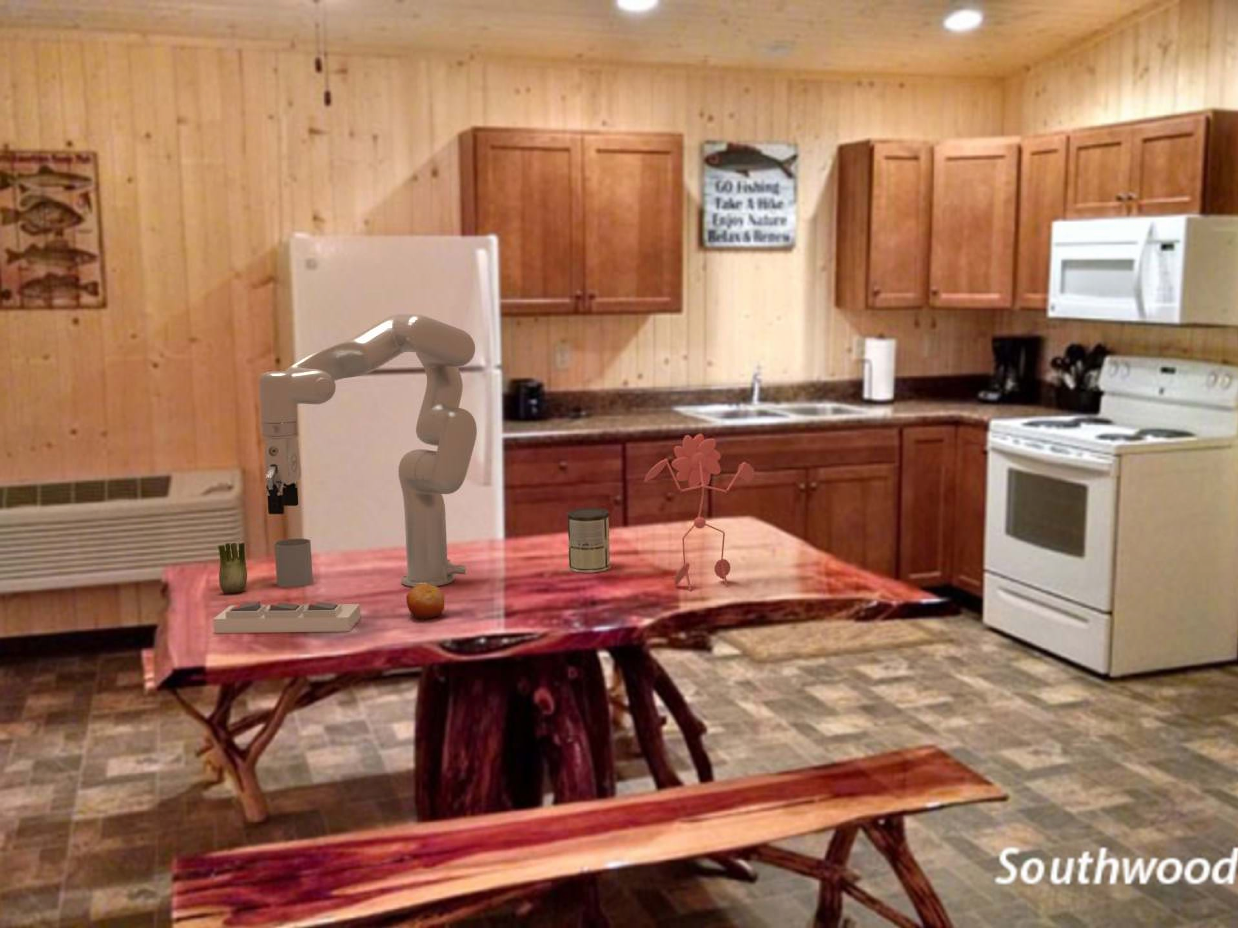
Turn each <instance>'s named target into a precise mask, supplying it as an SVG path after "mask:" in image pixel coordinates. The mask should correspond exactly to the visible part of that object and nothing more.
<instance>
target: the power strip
mask: <svg viewBox="0 0 1238 928" xmlns="http://www.w3.org/2000/svg"><path fill="white" fill-rule="evenodd" d="M336 604H337V606H336V608H335V609H334V610H308V607H309V604H300V603H299V604H298V605H299V606H298V608H297V609H296V610H292V611H270V605H271V604H270V605H269V604H260V606H261V607H260V608H259V609H258V610H257V611H231V610H232V609H233V608H234V607H235V606H237V604H234V605H228V606H227V607H226V609H224V610H222V611H221V612H220V613H219V614H218V615H216V616H215V617H214V618H213V632H214V634H240V633H243V634H245V633H247V634H248V633H251V634H253V633H255V634H256V633H318V632H319V633H321V632H322V633H324V632H326V633H327V632H328V633H332V632H333V633H334V632H336V633H337V632H338V633H339V632H340V633H341V632H350V631H351V630H352V629H353V628H354V626H355V625H356V624H357V623H358V622H359V620H360V619H361V616H362V615H361V614H362V613H361V604H360V603H345V604H344V603H343V604H342V603H336ZM355 623H356V624H355Z"/></svg>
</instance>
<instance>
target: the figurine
mask: <svg viewBox="0 0 1238 928" xmlns="http://www.w3.org/2000/svg"><path fill="white" fill-rule="evenodd" d="M683 437H684V438H683V441H682V446H680V445H676V446H675V447H674V451H673V452H674V455H675V457H676V459H673V461H672V462H671V465H670V463H669V459H668V458H664V459H663V460H660V461H659V462H658V463H656V464H655V465H654V466H652V468H651V469H650V470H649V471H648V472H647V474H646V475H645V478H644V480H643V481H644V483H646V482H648V481H650V480H652V479H654V478H655V477H656V476H657V475H658V474H659V473H661V472H662V470H663V469H664V468H665V466H667V468H668V470H669V472H670V474H671V476H672V478H673V482H675V485H676V487H677V489H678V491H679V493H683V492H687V491H692V490H696V489H701V497H700V498H701V499H700V503H699V505H700V506H699V511H698V515H697V517H696V518H695V519H694V520H693V525H692V526H691V527H690V528H689V529H688V530H687V531H686V533H685V534H684V535H683V537H682V555H683V556H682V557H683V558H682V559H683V565H682V566H681V567H680V569H679V570H678V571H677V573H676V574H675V575H673V576H668V577H662V578H660V579H659V580H656V582H654V584H656V583H658V582H660V581H662V580H665V579H670V578H674V582H673V583H674V586H675V587H676V586H678V584H679V583H680V582H681V581H682V580H683V579H684V578H685V577H686V581H687V588H688V591H689V592H690V591H691V592H692V585H691V581H690V576H691V575H694V573H689V569H690V566H691V565H690V563H689V562H686V552H685V538H686V537H687V536H688V534H689V533H690V532H691V531H692V530H693V528H694V527H695V528H696V529H703V528H705V527H706V526H707V527H709V528H711V529H713V530H715V531H718V532H720V533H722V544H721V557H720V558H721V559H719V560H717V561H716V563H715V565H714V567H713V568H714V570H713V571H714V573H715V575H716V577H719V578H720V579H721V580H723V581H724V585H725V587H729V584H728V580H727V576H728V575H729V574H730V571H731V564H730V562H729V561H728V560H727V559H724V547H725V536H726V533H725V531H723V530H721V529H720V528H716V527H714V526H712V525H710V524H708V523H707V521H706V520H705V518H704V517H703V516H701V514H702V509H703V504H704V498H705V489H710V490H713V491H717V492H722V493H726V494H727V493H728V492H729V491H730V490H731V488H732V486H733V485H734V483H735V481H736V480H737V478H738V477H740V478H741V479H742V480H744V482H747V483H750V482H751V481H752V480H753V479H754V477H755V470H754V467H752V466H751V464H750V463H747V462H746V461H743V462H742V463H740V464H739V465H738V468H737V472H736V474H735V476H734V477H733V478H732V480H731V482H730V483H729V485H728V486H727V488H726V489H722V488H718V487H715V486H713V487H712V486H709V484H710V482H711V481H710V480H711V476H712V475H719V474H720V473H721V470H722V468H721V465H720V463H719V462H718V461H719V460H720V459H721V457H722V456H721V453H720V452H718V451H717V450H715V448H716V444H717V439H714V438H713V437H712V438H711V437H710V438H707V439H705V438H704V435H703V434H702V433H699V434H696V435H695V436H694V438H692V436H691V435H689V434H687V435H684V436H683ZM671 466H672V467H673V469H675V470H676V471H678V472H677V473H676V475H675V473H674V471H673V469H672V467H671ZM678 481H679V482H685V481H688V482H687V483H688V487H687V488H683V489H682V488H681V485H680V484H679V482H678ZM700 483H701V485H699V484H700ZM704 575H706V573H704ZM750 584H751V585H752V582H750Z"/></svg>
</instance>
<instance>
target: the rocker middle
mask: <svg viewBox="0 0 1238 928" xmlns="http://www.w3.org/2000/svg"><path fill="white" fill-rule="evenodd" d="M298 606H299V604H295V603H290V602H284V601H282V602H281V601H276V600H274V601H273V602H272V603H271V604H270V611H292V610H296V609H297V608H298Z"/></svg>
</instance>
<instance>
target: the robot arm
mask: <svg viewBox="0 0 1238 928" xmlns="http://www.w3.org/2000/svg"><path fill="white" fill-rule="evenodd" d="M475 352H476V344H475V341H474V339H473V337H472V336H471V334H469V333H468V332H466V331H465V330H463V329H461V328H458V327H457V326H456V327H455V326H454V325H453V326H452V325H450V324H447V323H444V322H442V321H440V320H436V319H434V318H431V317H428V316H425V315H422V314H404V313H403V314H402V313H401V314H394V315H391V316H388V317H387V318H384V319H383V320H382V321H379V322H378V323H376V324H375V325H372V326H371V327H370V328H367V329H366V330H364V331H362V332H360V333H359V334H357V335H355V336H354V337H352V338H349V339H347V340H345V341H343V342H340V343H339V342H338V343H337V344H335V345H332V346H330V347H328V348H325V349H322V350H320V351H317V352H314V353H313V354H311V355H308V356H306V357H304V358H303V359H301V360H299V361H297V362H295V363H294V364H292V365H290V366H289V367H287V368H286V369H285V370H284V371H280V370H277V371H266V372H262V373H261V374H259V375H260V376H259V379H258V391H259V407H260V409H259V410H260V425H261V426H260V428H261V430H260V431H261V438H262V439H264V473H265V475H264V477H265V483H266V486H265V488H266V495H267V512H268V514H269V515H283V514H284V513H285V507H297V506H298V505H299V490H298V485H299V484H298V483H299V482H298V481H299V480H300V479H301V478H302V469H301V459H300V458H301V457H300V450H299V449H300V448H299V442H298V437H299V421H298V420H299V418H298V415H299V414H298V405H299V404H303V405H304V404H305V405H322V404H324V403H327V402H328V401H330V400H331V399H333V397H334V395H335V392H336V386H337V385H336V381H338V380H343V379H348V378H349V379H350V378H355V377H360V376H364V375H367V374H371V373H373V372H374V371H376V369H379V368H380V367H382V366H384V365H385V364H387V363H388V362H390V361H392V360H393V359H395V358H396V357H399V356H400V355H401V354H404V353H415V354H416V357H417V358H418V360H419V361H420V363H421V365H422V366H423V369H424V372H425V375H426V387H425V392H424V394H423V395H424V396H423V400H422V403H421V406H420V409H419V414H418V417H417V422H416V426H415V433H416V436H417V438H418V440H419V441H421V442H422V443H424V444H425V445H430V446H436V447H437V449H436V451H435V450H429V449H419V448H418V449H413V450H410V451H408V452H406V453H405V455H403V456H402V458H401V459H400V462H399V464H398V471H397V472H398V478H399V479H398V480H399V483H400V488H401V491H402V498H403V499H402V500H403V507H404V527H405V528H404V529H405V530H404V531H405V547H406V548H405V549H406V568H407V569H406V570H407V573H405V574H404V575H402V576H401V578H400V579H401V580H400V581H401V584H403V585H405V586H407V587H411V588H413V587H415V586H417V585H419V584H423V583H427V584H430V585H432V586H436V587H439V586H444V585H448V584H450V583H452V582H454V581H455V579H456V578H455V576H456V575H466V574H467V567H466V565H463V564H453V563H451V559H448V546H447V544H448V543H447V523H446V522H447V521H446V520H447V519H446V505H445V500H444V498H443V497H444V496H443V495H450V494H453V493H456V492H457V491H458V490H459V489H460V488H461V487H462V485H463V483H464V482H465V480H466V477H467V473H468V470H469V467H470V462H471V459H472V454H473V451H474V447H475V444H476V440H477V434H478V433H477V431H478V430H477V429H478V427H477V423H476V419H475V417H474V415H473V414H472V413H471V412H470V411H469V410H467V409H464V408H462V407H460V403H461V399H462V394H463V388H464V387H463V379H462V375H461V372H460V370H459V367H460V368H461V367H464V366H465V365H468V364H469V363H470V362H471V361H472V360H473V358H474V356H475V354H476V353H475Z"/></svg>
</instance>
